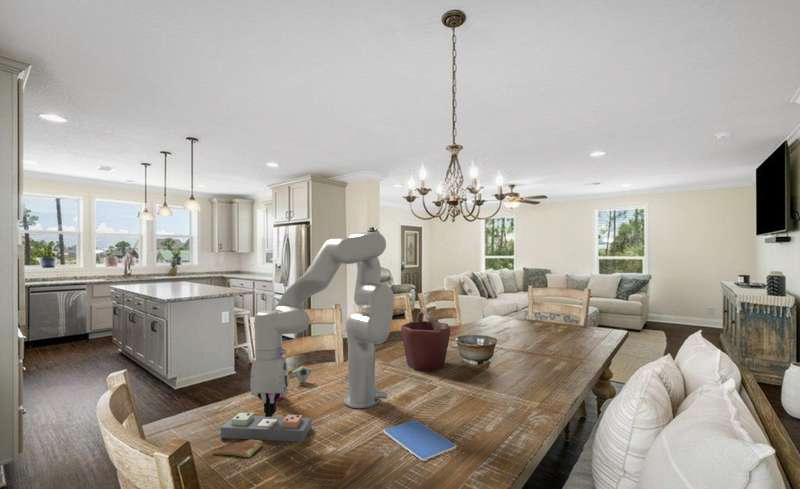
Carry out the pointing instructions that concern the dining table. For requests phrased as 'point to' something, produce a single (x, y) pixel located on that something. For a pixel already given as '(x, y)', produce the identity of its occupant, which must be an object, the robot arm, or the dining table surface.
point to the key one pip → (267, 422)
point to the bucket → (425, 343)
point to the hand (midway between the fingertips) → (270, 414)
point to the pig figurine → (302, 373)
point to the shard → (240, 448)
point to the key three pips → (292, 421)
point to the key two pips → (242, 419)
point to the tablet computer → (419, 439)
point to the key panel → (266, 430)
